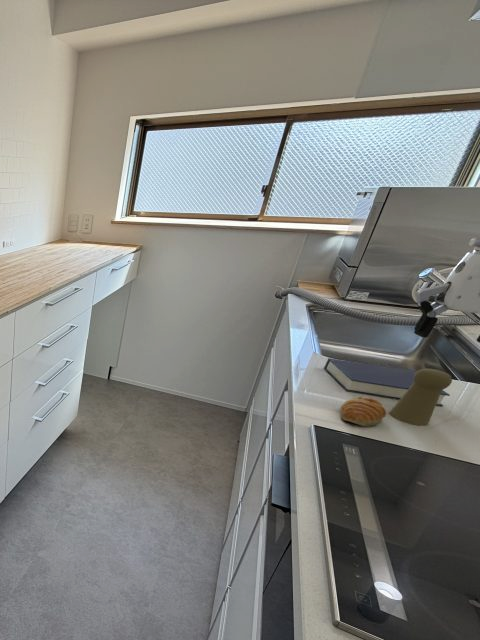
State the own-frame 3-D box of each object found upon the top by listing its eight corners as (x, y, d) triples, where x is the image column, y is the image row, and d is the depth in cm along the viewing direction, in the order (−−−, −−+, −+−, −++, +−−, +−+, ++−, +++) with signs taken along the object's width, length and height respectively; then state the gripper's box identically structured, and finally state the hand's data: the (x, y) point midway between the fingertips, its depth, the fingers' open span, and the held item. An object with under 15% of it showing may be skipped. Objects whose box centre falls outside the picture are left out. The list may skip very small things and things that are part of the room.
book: (407, 381, 105) (413, 370, 103) (442, 406, 93) (450, 394, 91) (323, 368, 110) (328, 358, 109) (346, 390, 98) (352, 379, 97)
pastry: (372, 433, 81) (381, 416, 79) (330, 418, 86) (338, 402, 84) (383, 419, 86) (393, 403, 84) (343, 406, 91) (351, 390, 89)
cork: (382, 413, 89) (409, 366, 84) (399, 408, 91) (426, 363, 86) (418, 427, 84) (448, 379, 79) (434, 423, 86) (465, 375, 81)
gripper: (459, 245, 71) (406, 338, 79) (596, 256, 66) (525, 354, 74) (433, 240, 78) (386, 326, 85) (556, 250, 73) (495, 341, 80)
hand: (451, 339), depth 80 cm, fingers open, 9 cm apart
